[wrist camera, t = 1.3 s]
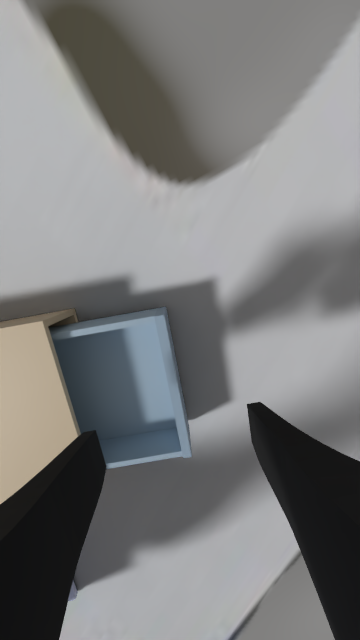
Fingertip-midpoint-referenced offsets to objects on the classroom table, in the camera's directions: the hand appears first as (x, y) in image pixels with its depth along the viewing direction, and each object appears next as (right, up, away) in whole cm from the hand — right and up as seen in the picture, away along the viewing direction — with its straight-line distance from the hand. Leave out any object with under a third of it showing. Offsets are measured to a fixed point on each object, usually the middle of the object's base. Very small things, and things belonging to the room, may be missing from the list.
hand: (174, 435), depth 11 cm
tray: (-8, 0, +8) cm, 11 cm away
